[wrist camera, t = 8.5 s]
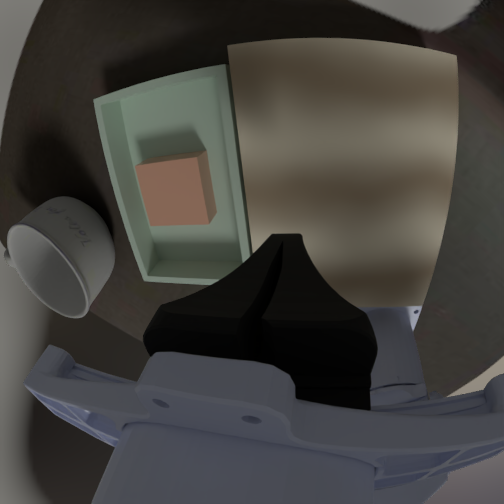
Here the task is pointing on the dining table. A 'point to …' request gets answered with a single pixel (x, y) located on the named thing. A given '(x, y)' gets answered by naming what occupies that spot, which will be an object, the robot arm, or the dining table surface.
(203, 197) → the tile
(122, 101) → the box
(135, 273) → the dining table surface
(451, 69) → the beige banded block
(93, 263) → the teacup
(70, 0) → the dining table surface
